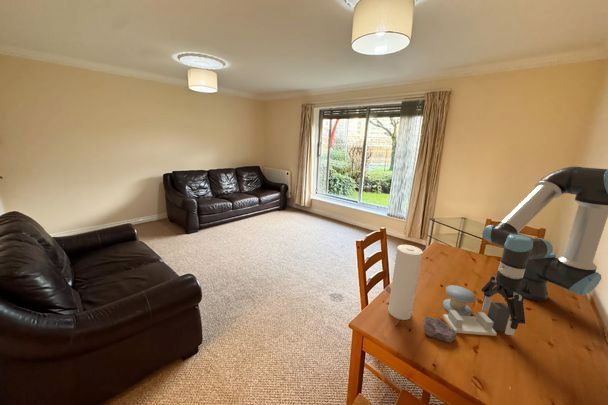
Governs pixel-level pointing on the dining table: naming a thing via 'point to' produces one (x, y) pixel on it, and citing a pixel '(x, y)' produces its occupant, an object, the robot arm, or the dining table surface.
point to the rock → (438, 329)
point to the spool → (459, 300)
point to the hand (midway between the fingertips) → (496, 321)
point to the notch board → (470, 323)
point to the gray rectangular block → (499, 315)
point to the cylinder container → (404, 281)
